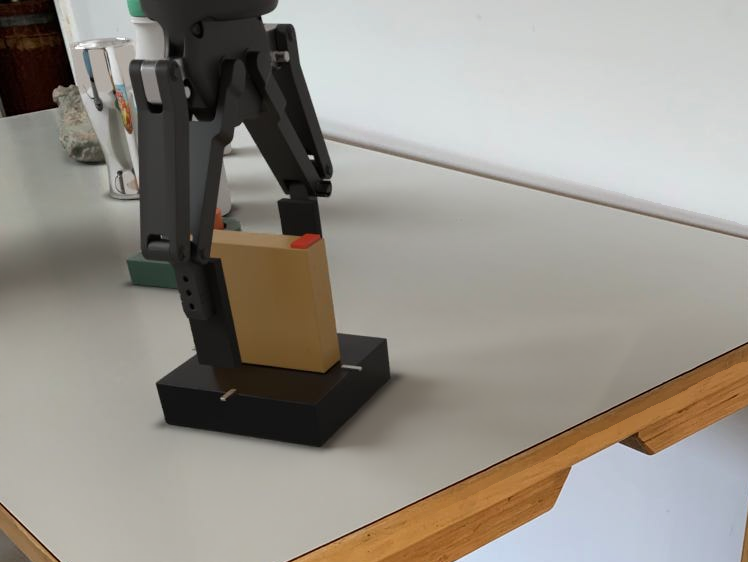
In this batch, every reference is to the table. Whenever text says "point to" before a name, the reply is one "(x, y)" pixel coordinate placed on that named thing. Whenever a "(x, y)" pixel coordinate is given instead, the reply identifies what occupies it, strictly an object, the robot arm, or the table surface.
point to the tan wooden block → (279, 298)
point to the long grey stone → (76, 126)
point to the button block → (163, 265)
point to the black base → (277, 394)
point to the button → (218, 220)
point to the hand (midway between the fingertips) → (269, 328)
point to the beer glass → (111, 107)
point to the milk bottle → (153, 49)
